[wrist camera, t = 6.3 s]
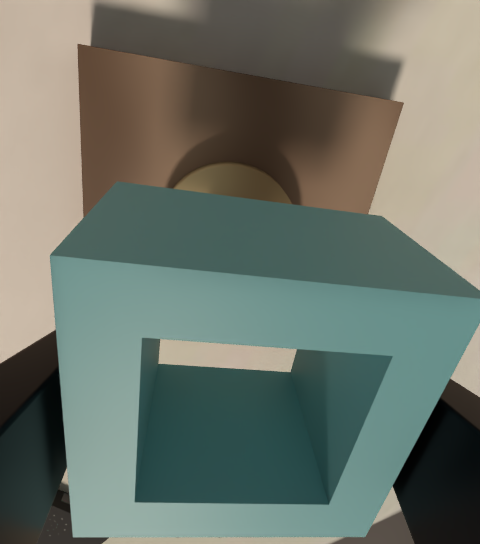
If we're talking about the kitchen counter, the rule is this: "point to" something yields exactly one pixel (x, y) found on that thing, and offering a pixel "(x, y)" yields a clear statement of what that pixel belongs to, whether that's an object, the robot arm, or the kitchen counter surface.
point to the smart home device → (62, 525)
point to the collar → (240, 382)
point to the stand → (227, 133)
